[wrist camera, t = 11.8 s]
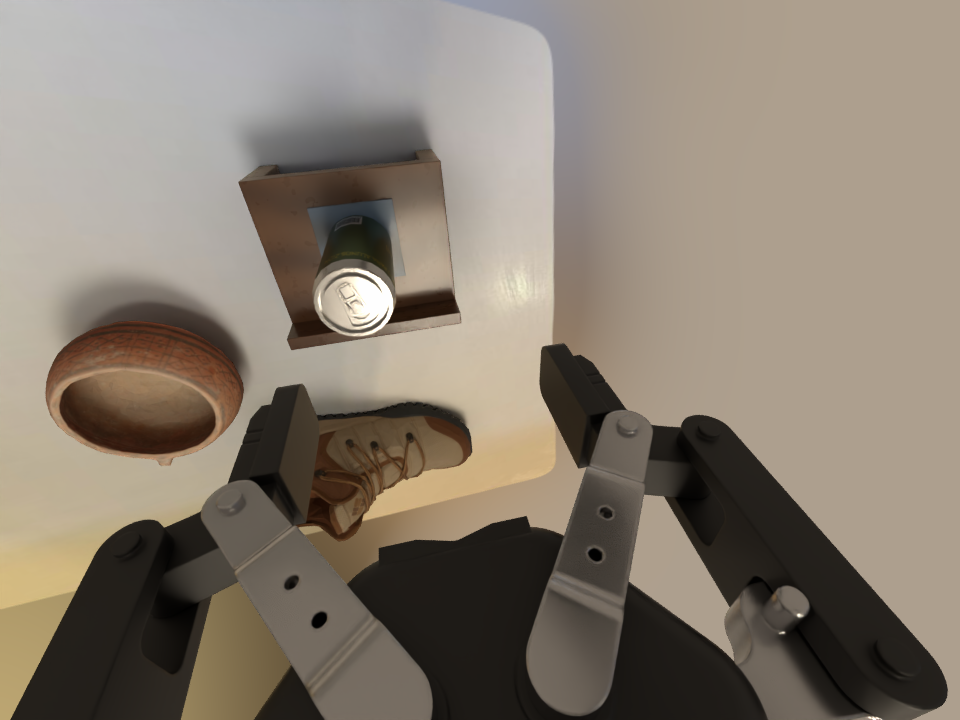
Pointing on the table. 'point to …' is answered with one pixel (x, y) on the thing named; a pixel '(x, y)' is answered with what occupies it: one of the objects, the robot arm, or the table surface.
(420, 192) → the wooden stand with backboard
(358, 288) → the beer can
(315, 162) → the table surface
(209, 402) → the bowl
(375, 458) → the shoe
